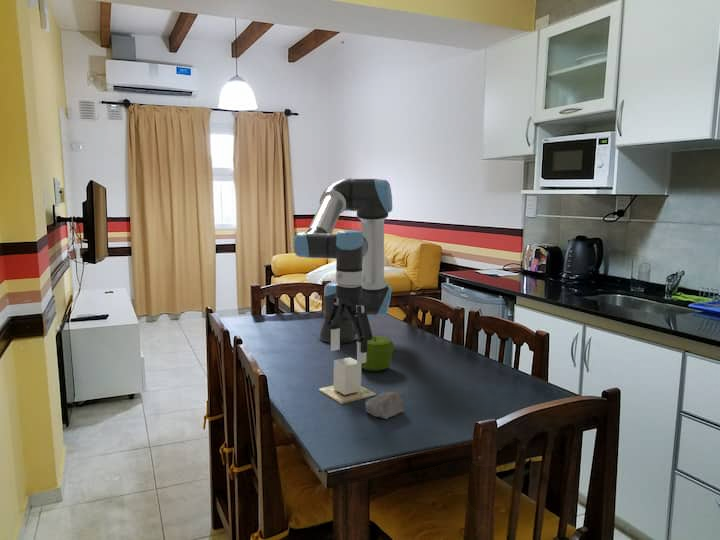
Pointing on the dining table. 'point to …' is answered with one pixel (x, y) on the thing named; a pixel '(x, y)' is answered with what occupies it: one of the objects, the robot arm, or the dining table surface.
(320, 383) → the dining table surface
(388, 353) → the green apple
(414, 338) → the dining table surface
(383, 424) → the dining table surface
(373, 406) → the stone
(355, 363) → the cream cuboid
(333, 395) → the square base with post
